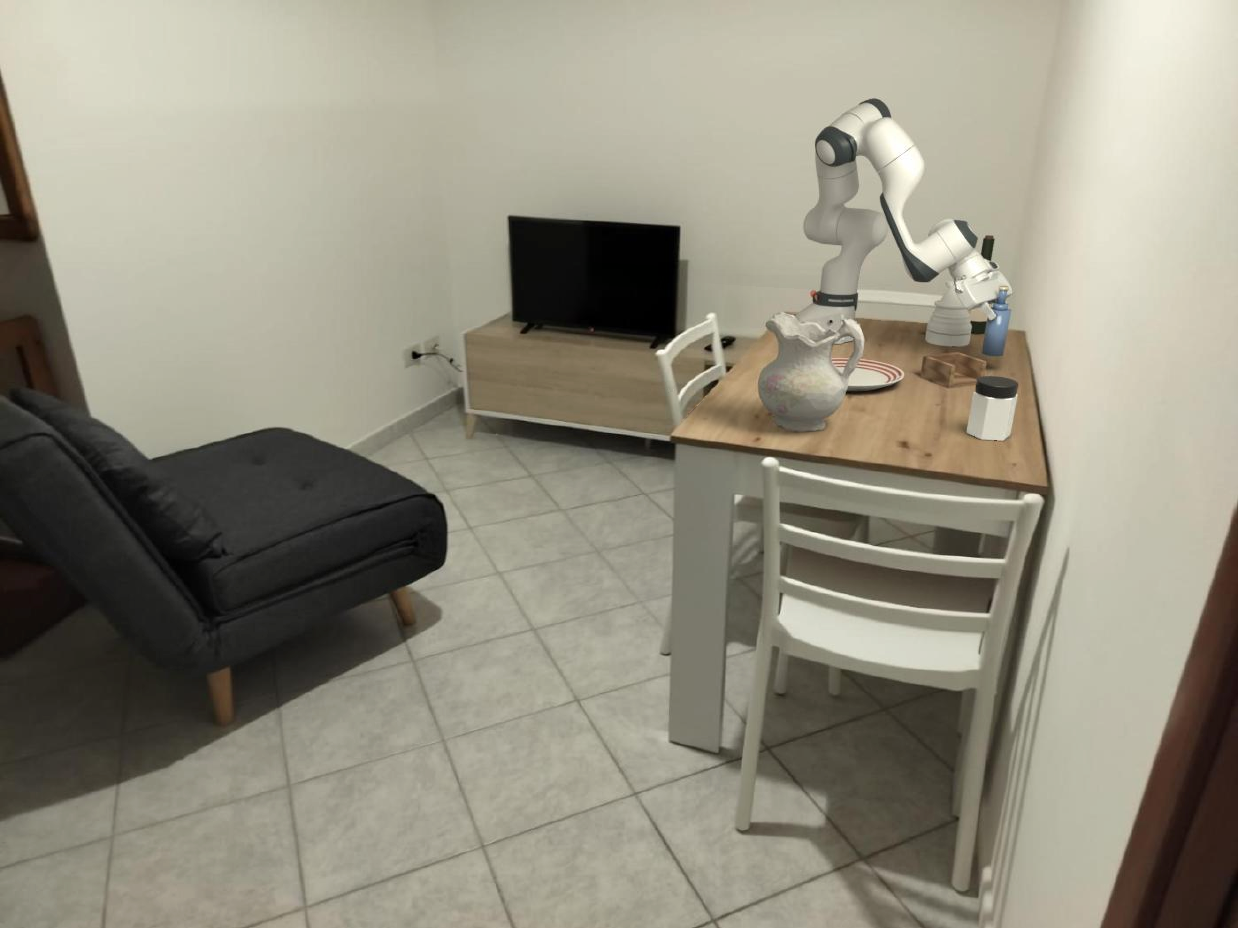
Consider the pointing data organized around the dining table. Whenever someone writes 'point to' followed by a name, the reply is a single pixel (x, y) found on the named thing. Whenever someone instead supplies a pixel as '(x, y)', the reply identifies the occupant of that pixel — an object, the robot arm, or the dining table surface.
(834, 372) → the ceramic pitcher
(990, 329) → the bottle
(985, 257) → the wine bottle
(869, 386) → the dinner plate
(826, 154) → the robot arm
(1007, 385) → the jar
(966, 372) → the holder
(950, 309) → the honey pot
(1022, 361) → the dining table surface
